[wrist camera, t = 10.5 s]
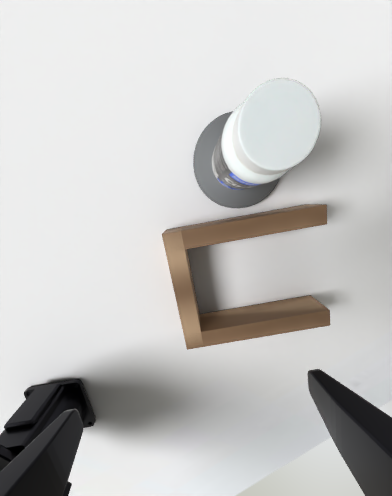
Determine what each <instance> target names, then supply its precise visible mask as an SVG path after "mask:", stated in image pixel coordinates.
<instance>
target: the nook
mask: <svg viewBox="0 0 392 496" xmlns="http://www.w3.org/2000/svg"><path fill="white" fill-rule="evenodd" d="M325 224H327V205H309V204H306V205H300V206H294V207H289V208H283V209H278V210H272V211H267V212H261V213H256V214H250V215H245V216H239V217H234V218H228V219H223V220H217V221H212V222H206V223H200V224H195V225H189V226H184V227H178V228H173V229H167V230H166V231H165V232H164V233H163V234H162V237H163V242H164V246H165V251H166V255H167V260H168V264H169V269H170V274H171V278H172V283H173V287H174V292H175V296H176V301H177V306H178V310H179V315H180V319H181V324H182V328H183V333H184V338H185V342H186V347H187V349H193V348H199V347H205V346H211V345H216V344H222V343H228V342H234V341H240V340H246V339H252V338H258V337H264V336H270V335H276V334H282V333H288V332H294V331H299V330H305V329H311V328H317V327H323V326H329V325H330V310H329V309H328V308H326V307H325V306H324V305H322V304H321V303H320V302H319V301H317V300H316V299H315V298H313V297H312V296H311V295H309V296H303V297H297V298H292V299H286V300H280V301H274V302H268V303H262V304H257V305H251V306H245V307H239V308H233V309H228V310H222V311H216V312H210V313H204V314H199V309H198V303H197V298H196V293H195V288H194V283H193V278H192V272H191V267H190V262H189V257H188V252H187V249H190V248H196V247H201V246H207V245H213V244H218V243H224V242H229V241H235V240H241V239H246V238H252V237H257V236H263V235H269V234H274V233H280V232H285V231H291V230H297V229H302V228H308V227H313V226H319V225H325Z"/></svg>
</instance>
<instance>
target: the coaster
mask: <svg viewBox="0 0 392 496" xmlns="http://www.w3.org/2000/svg"><path fill="white" fill-rule="evenodd" d="M232 113H233V111H232V112H229V113H226V114H223V115H221V116H219V117H218V118H216V119H215V120H213V121H212V122H211V123H210V124H209V125H208V126H207V127H206V128H205V129H204V131H203V132H202V134H201V135H200V137H199V139H198V142H197V144H196V148H195V151H194V173H195V177H196V180H197V182H198V184H199V186H200V188H201V190H202V191H203V192H204V194H205V195H206V196H207V197H208V198H210V199H211V200H212V201H214V202H215V203H217V204H219V205H221V206H225V207H230V208H244V207H248V206H251V205H254V204H256V203H258V202H260V201H261V200H263V199H264V198H265V197H266V196H268V195H269V194H270V193H271V191H272V190H273V189H274V187H275V186H276V184H277V183H278V181H279V179H280V178H278V179H276V180H274V181H272V182H269V183H266V184H262V185H258V186H254V187H251V188H247V189H242V190H233V189H229V188H227V187H225V186H224V185H222V184H221V183H220V182H219V181H218V180H217V178H216V177H215V175H214V172H213V168H212V156H213V152H214V149H215V147H216V144H217V141H218V139H219V137H220V135H221V133H222V131H223V129H224V126H225V124H226V122H227V120H228V118H229V117H230V115H231V114H232Z"/></svg>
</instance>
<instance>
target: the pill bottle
mask: <svg viewBox="0 0 392 496" xmlns="http://www.w3.org/2000/svg"><path fill="white" fill-rule="evenodd" d="M320 127H321V114H320V109H319V106H318V103H317V101H316V99H315V97H314V95H313V94H312V92H311V91H310V90H309V89H308V88H307V87H306V86H305V85H303V84H302V83H300V82H298V81H296V80H292V79H287V78H277V79H273V80H269V81H267V82H265V83H263V84H261V85H260V86H258V87H257V88H256V89H255V90H254V91H253V92H252V93H251V94H250V95H249V96H248V97H247V99H246V100H245V102H243V103H242V104H241V105H239V106H238V107H237V108H236V109H235V110H234V111H233V113H232V114H231V115H230V117H229V118H228V120H227V122H226V124H225V126H224V129H223V131H222V133H221V135H220V137H219V139H218V141H217V144H216V147H215V149H214V152H213V156H212V168H213V172H214V175H215V177H216V178H217V180H218V181H219V182H220V183H221V184H222V185H224V186H225V187H227V188H229V189H233V190H242V189H247V188H251V187H254V186H258V185H262V184H266V183H269V182H272V181H274V180H276V179H278V178H280V177H281V176H282V175H284V174H285V173H286V172H287V171H288V170H289V169H290V168H292V167H294V166H296V165H297V164H299V163H300V162H302V161H303V160H304V159H305V158H306V157H307V156H308V155H309V154H310V152H311V151H312V149H313V148H314V146H315V144H316V141H317V139H318V136H319V132H320Z"/></svg>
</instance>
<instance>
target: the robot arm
mask: <svg viewBox="0 0 392 496" xmlns="http://www.w3.org/2000/svg"><path fill="white" fill-rule="evenodd" d="M308 386H309V391H310V394H311V396H312V398H313V400H314V402H315V404H316V406H317V409H318V411H319V413H320V415H321V417H322V419H323V421H324V423H325V425H326V427H327V429H328V431H329V433H330V435H331V437H332V439H333V441H334V443H335V445H336V446H337V448H338V450H339V452H340V454H341V455H342V457H343V459H344V460H345V462H346V464H347V466H348V467H349V469H350V471H351V472H352V474H353V476H354V477H355V479H356V481H357V482H358V484H359V486H360V488H361V489H362V491H363V493H364V494H365V496H392V417H390V416H389V415H387V414H386V413H384V412H383V411H381V410H380V409H378V408H377V407H375V406H374V405H372V404H371V403H369V402H368V401H366V400H365V399H363V398H362V397H360V396H359V395H357V394H356V393H354V392H353V391H351V390H350V389H348V388H347V387H345V386H344V385H342V384H341V383H340V382H338V381H337V380H335V379H334V378H332V377H331V376H329V375H328V374H326V373H325V372H323V371H322V370H320V369H315V370H309V371H308ZM24 395H25V398H26V400H25V401H24V403H23V404H22V405H21V406H20V407H19V409H18V410H17V411H16V412H15V413H14V414H13V416H12V417H11V418H10V419H9V420H8V422H7V423H6V424H5V426H4V428H5V430H4V431H3V432H2V433H1V435H0V496H68V494H69V491H70V488H71V485H72V483H70V482H68V478H69V475H70V472H71V468H72V465H73V462H74V459H75V455H76V452H77V449H78V446H79V442H80V439H81V436H82V433H83V428H85V427H91V426H93V425H94V423H95V421H96V419H95V416H94V413H93V411H92V408H91V405H90V403H89V400H88V397H87V395H86V392H85V389H84V387H83V384H82V382H81V381H80V380H78V379H75V380H70V381H64V382H58V383H52V384H46V385H40V386H34V387H29V388H27V389H26V391H25V392H24Z"/></svg>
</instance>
